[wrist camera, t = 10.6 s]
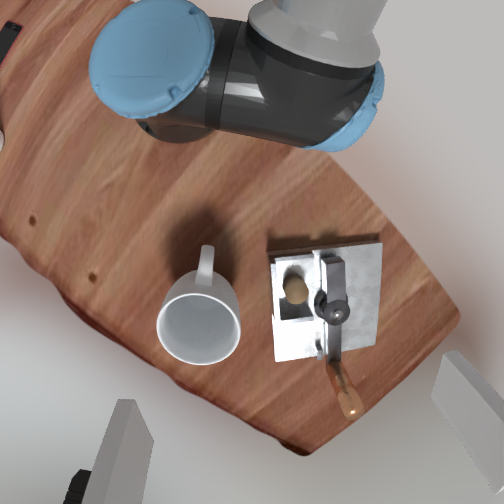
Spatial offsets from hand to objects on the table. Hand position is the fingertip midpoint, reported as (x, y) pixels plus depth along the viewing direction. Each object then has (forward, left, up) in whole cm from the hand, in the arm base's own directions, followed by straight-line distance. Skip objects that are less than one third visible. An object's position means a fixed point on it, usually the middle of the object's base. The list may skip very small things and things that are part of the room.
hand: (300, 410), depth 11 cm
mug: (+10, -8, -39) cm, 41 cm away
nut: (+11, +6, -37) cm, 39 cm away
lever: (+18, +12, -36) cm, 42 cm away
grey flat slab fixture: (+15, +12, -39) cm, 43 cm away
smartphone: (-40, -45, -39) cm, 72 cm away
